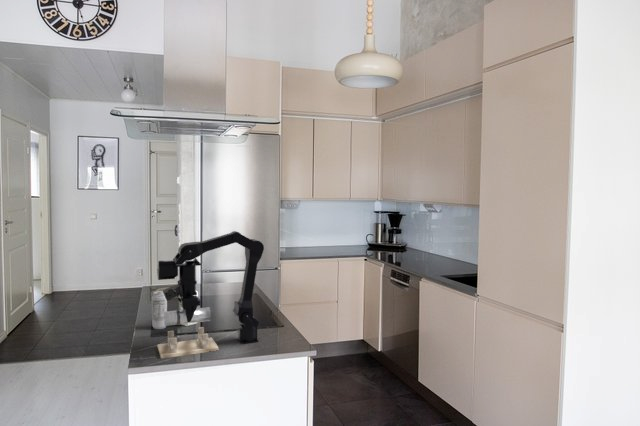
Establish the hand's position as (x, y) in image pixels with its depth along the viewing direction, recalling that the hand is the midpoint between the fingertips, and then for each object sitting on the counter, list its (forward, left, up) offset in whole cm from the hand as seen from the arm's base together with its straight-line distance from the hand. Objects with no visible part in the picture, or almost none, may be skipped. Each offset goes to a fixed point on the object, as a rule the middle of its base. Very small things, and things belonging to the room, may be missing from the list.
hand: (187, 319), depth 166 cm
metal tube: (0, 0, -1) cm, 1 cm away
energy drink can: (+7, -30, -11) cm, 33 cm away
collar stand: (0, 0, -11) cm, 11 cm away
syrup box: (-5, -30, -11) cm, 32 cm away
